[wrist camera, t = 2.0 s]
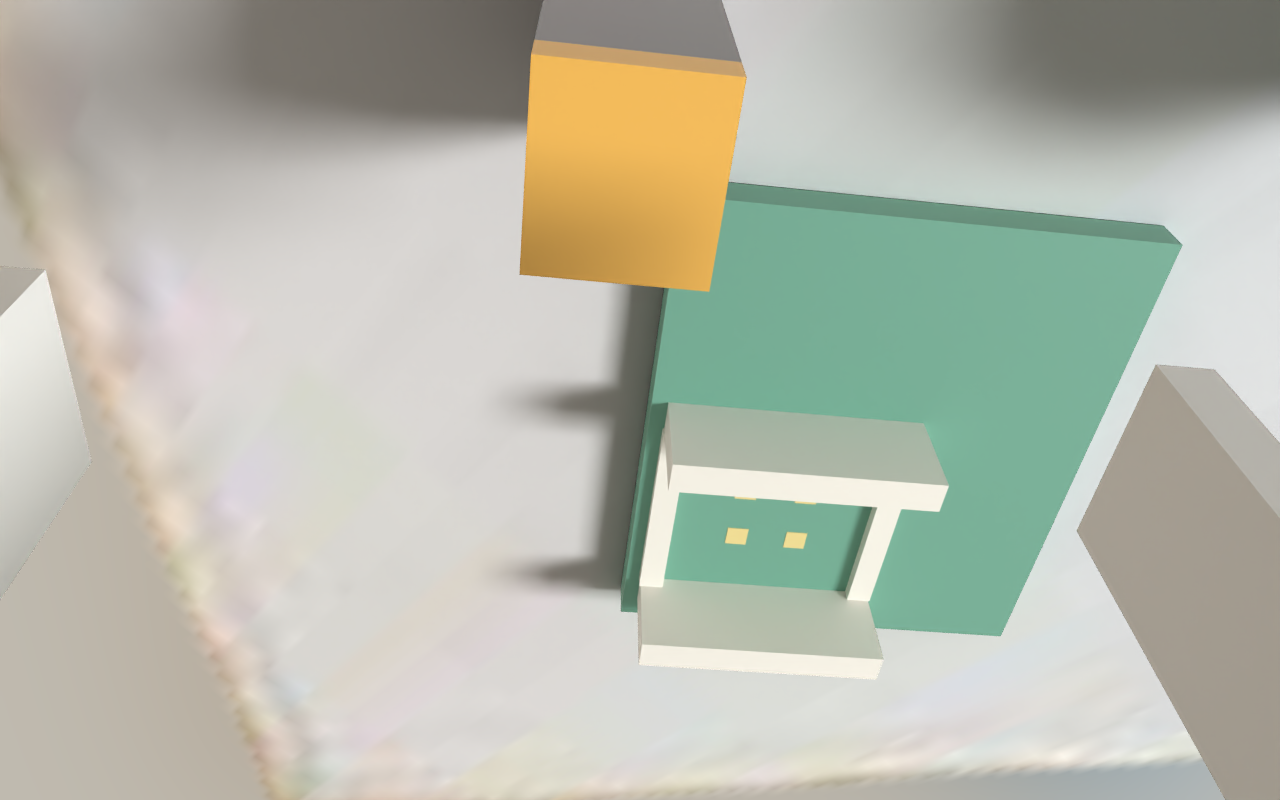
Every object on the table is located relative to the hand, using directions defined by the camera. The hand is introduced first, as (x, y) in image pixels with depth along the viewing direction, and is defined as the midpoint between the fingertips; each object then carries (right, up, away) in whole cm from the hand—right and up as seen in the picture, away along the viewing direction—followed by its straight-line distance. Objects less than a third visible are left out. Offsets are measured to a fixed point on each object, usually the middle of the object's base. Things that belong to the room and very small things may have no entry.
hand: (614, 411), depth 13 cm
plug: (0, +10, +13) cm, 16 cm away
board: (+7, -1, +21) cm, 22 cm away
